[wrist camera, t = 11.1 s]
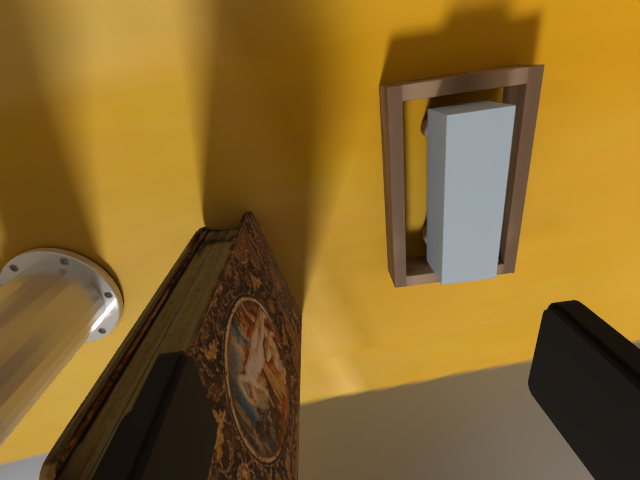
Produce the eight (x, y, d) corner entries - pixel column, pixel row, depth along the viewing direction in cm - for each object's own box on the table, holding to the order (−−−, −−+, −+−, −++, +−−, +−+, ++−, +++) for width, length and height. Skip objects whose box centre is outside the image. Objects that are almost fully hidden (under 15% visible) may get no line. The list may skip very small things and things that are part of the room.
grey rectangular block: (427, 108, 29) (446, 115, 25) (486, 100, 29) (515, 105, 25) (426, 260, 36) (441, 284, 32) (474, 254, 36) (496, 277, 32)
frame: (388, 270, 39) (395, 287, 36) (378, 85, 31) (387, 87, 27) (497, 256, 39) (514, 272, 36) (519, 65, 30) (544, 64, 27)
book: (305, 323, 42) (303, 609, 20) (264, 336, 43) (217, 625, 21) (250, 206, 35) (150, 445, 13) (202, 223, 36) (27, 478, 14)
